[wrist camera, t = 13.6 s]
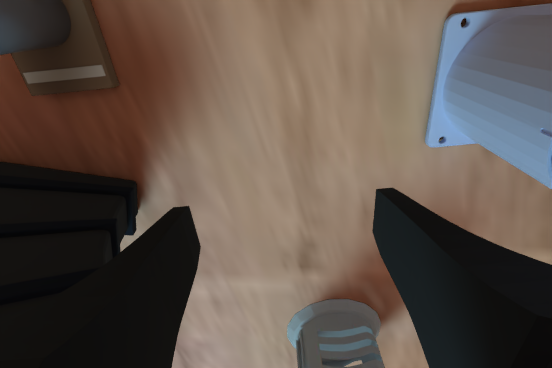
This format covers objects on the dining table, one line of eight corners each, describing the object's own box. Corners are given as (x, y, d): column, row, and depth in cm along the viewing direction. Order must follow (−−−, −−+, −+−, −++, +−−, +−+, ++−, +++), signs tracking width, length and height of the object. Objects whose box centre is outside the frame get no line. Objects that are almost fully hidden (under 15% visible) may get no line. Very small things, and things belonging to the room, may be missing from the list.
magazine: (-102, 154, 19) (-388, 410, 8) (130, 149, 25) (157, 286, 14) (-79, 204, 21) (-283, 467, 10) (132, 187, 27) (158, 335, 16)
